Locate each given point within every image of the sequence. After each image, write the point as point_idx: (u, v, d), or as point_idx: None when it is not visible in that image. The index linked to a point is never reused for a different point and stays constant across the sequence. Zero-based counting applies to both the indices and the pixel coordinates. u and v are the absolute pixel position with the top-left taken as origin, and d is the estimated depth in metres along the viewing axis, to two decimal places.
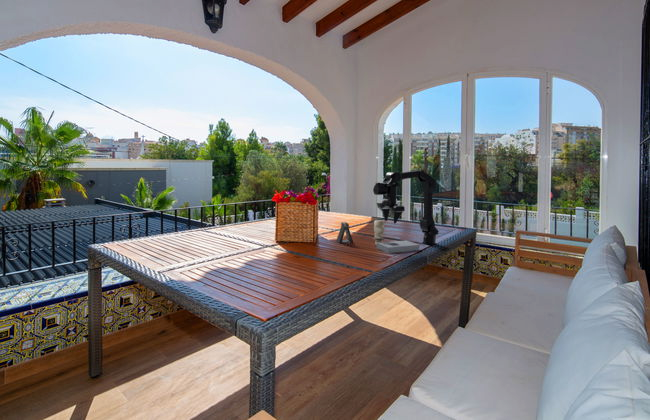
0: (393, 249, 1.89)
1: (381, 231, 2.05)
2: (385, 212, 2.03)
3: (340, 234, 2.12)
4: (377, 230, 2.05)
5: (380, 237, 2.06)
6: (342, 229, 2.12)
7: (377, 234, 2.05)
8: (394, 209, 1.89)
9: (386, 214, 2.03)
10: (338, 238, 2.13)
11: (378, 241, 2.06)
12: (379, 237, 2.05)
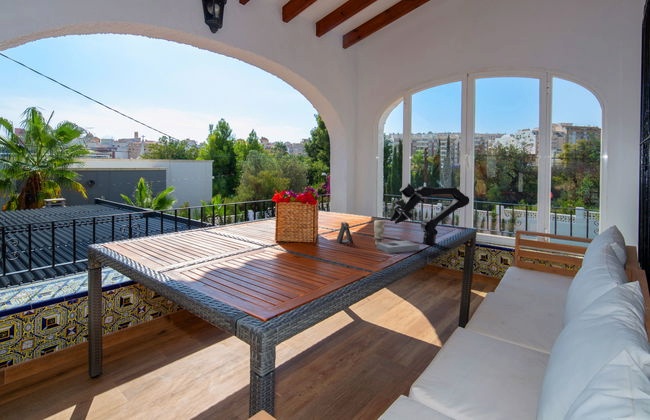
0: (393, 249, 1.89)
1: (381, 231, 2.05)
2: (395, 214, 2.12)
3: (340, 234, 2.12)
4: (377, 230, 2.05)
5: (380, 237, 2.06)
6: (342, 229, 2.12)
7: (377, 234, 2.05)
8: (403, 210, 1.99)
9: (395, 216, 2.12)
10: (338, 238, 2.13)
11: (378, 241, 2.06)
12: (379, 237, 2.05)
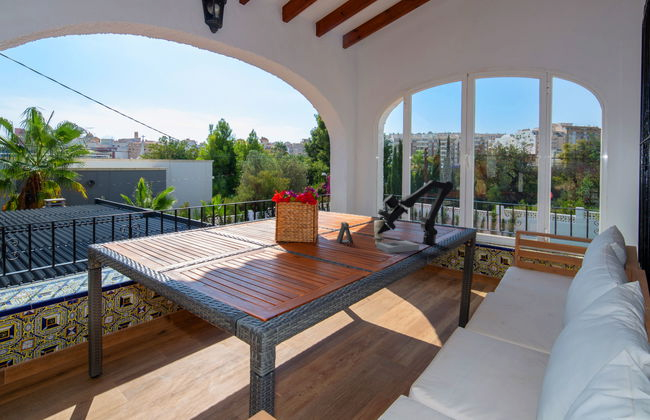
0: (393, 249, 1.89)
1: None
2: None
3: (340, 234, 2.12)
4: (377, 230, 2.05)
5: (380, 237, 2.06)
6: (342, 229, 2.12)
7: (377, 234, 2.05)
8: (387, 221, 1.99)
9: None
10: (338, 238, 2.13)
11: (378, 241, 2.06)
12: (379, 237, 2.05)
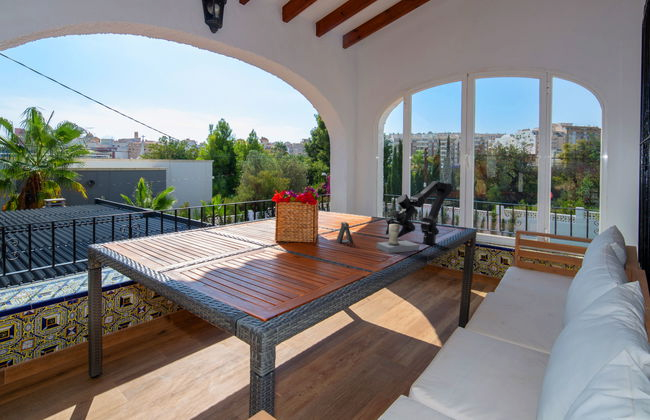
0: (393, 249, 1.89)
1: None
2: None
3: (340, 234, 2.12)
4: (394, 235, 1.92)
5: (397, 242, 1.94)
6: (342, 229, 2.12)
7: (394, 239, 1.93)
8: (408, 223, 1.88)
9: None
10: (338, 238, 2.13)
11: None
12: (396, 242, 1.93)
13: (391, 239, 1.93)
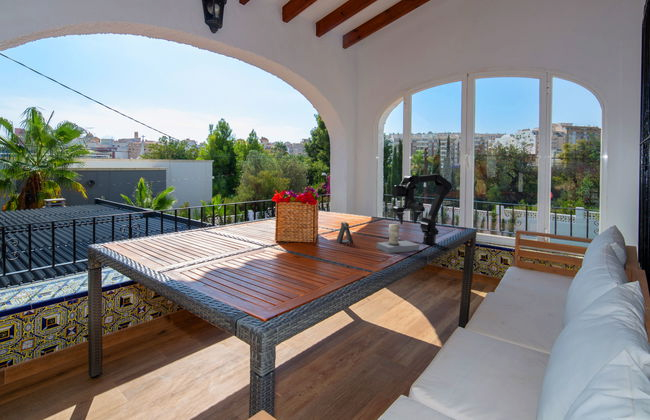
0: (393, 249, 1.89)
1: (398, 235, 1.93)
2: None
3: (340, 234, 2.12)
4: (394, 235, 1.92)
5: (397, 242, 1.94)
6: (342, 229, 2.12)
7: (394, 239, 1.93)
8: (423, 209, 2.03)
9: None
10: (338, 238, 2.13)
11: None
12: (396, 242, 1.93)
13: (391, 239, 1.93)
